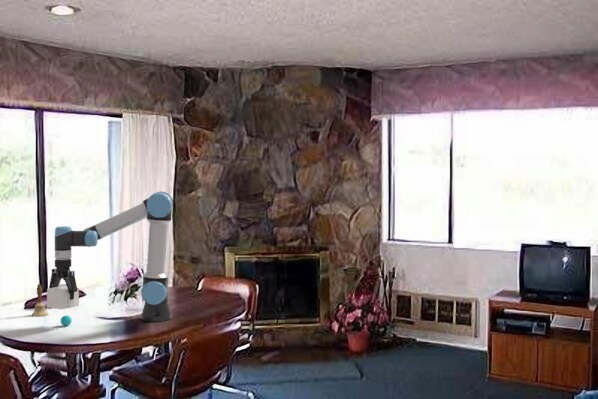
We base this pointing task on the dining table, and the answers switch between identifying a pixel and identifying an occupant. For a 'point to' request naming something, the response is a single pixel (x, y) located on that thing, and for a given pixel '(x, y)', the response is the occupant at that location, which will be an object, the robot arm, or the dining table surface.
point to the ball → (66, 320)
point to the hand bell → (39, 304)
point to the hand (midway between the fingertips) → (63, 304)
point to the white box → (60, 297)
